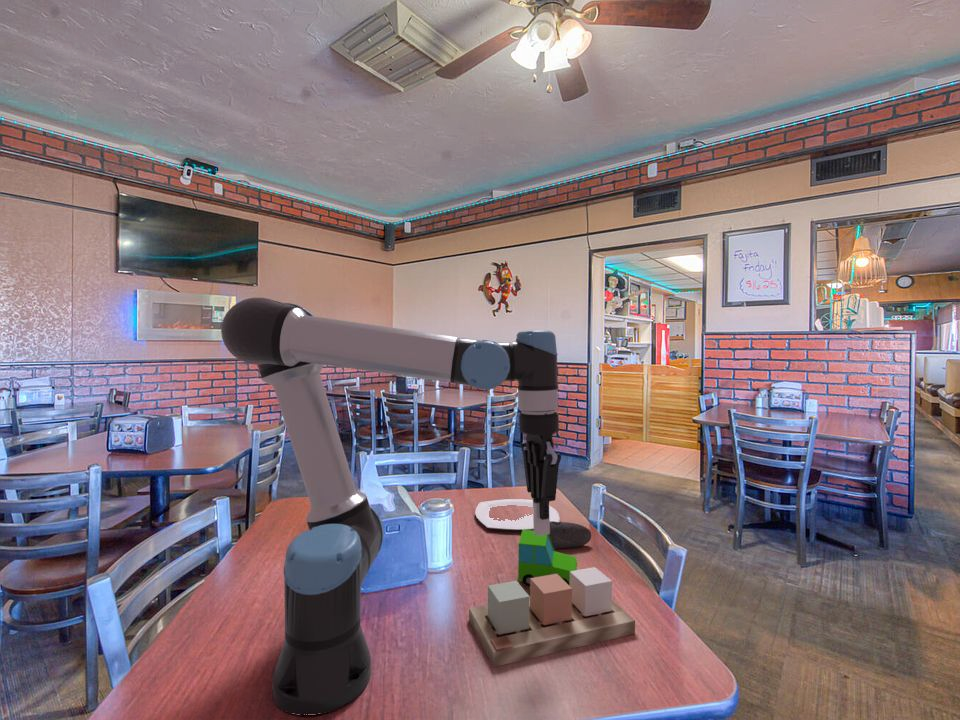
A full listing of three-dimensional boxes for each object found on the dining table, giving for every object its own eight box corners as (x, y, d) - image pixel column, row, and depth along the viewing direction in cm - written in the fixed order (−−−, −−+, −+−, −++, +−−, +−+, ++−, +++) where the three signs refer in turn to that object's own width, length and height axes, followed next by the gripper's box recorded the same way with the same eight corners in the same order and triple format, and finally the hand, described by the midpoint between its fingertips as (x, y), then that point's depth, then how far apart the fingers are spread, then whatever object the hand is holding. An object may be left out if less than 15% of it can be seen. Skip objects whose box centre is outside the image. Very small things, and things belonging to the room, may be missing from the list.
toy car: (577, 595, 99) (577, 551, 99) (517, 588, 102) (518, 545, 102) (576, 573, 109) (577, 532, 109) (522, 567, 112) (523, 527, 112)
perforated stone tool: (588, 542, 127) (588, 518, 127) (594, 550, 122) (594, 525, 122) (536, 543, 126) (536, 518, 126) (540, 551, 121) (540, 526, 121)
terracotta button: (543, 625, 84) (544, 593, 84) (529, 607, 90) (530, 578, 90) (571, 619, 86) (572, 588, 86) (556, 602, 92) (556, 573, 91)
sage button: (498, 634, 81) (499, 602, 81) (487, 616, 87) (487, 585, 87) (529, 628, 83) (529, 596, 83) (516, 610, 89) (516, 580, 89)
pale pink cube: (585, 616, 87) (585, 585, 87) (569, 600, 93) (569, 571, 92) (611, 610, 89) (612, 580, 89) (594, 595, 95) (594, 567, 94)
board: (493, 666, 77) (493, 650, 76) (468, 620, 90) (469, 605, 90) (634, 633, 86) (635, 618, 86) (593, 595, 99) (593, 582, 99)
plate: (471, 505, 157) (471, 500, 157) (546, 503, 160) (546, 497, 160) (479, 537, 131) (479, 530, 131) (569, 533, 134) (569, 527, 133)
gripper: (573, 414, 81) (576, 544, 81) (541, 406, 93) (544, 519, 94) (535, 417, 78) (538, 550, 79) (507, 409, 91) (510, 524, 91)
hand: (541, 533), depth 86 cm, fingers closed
